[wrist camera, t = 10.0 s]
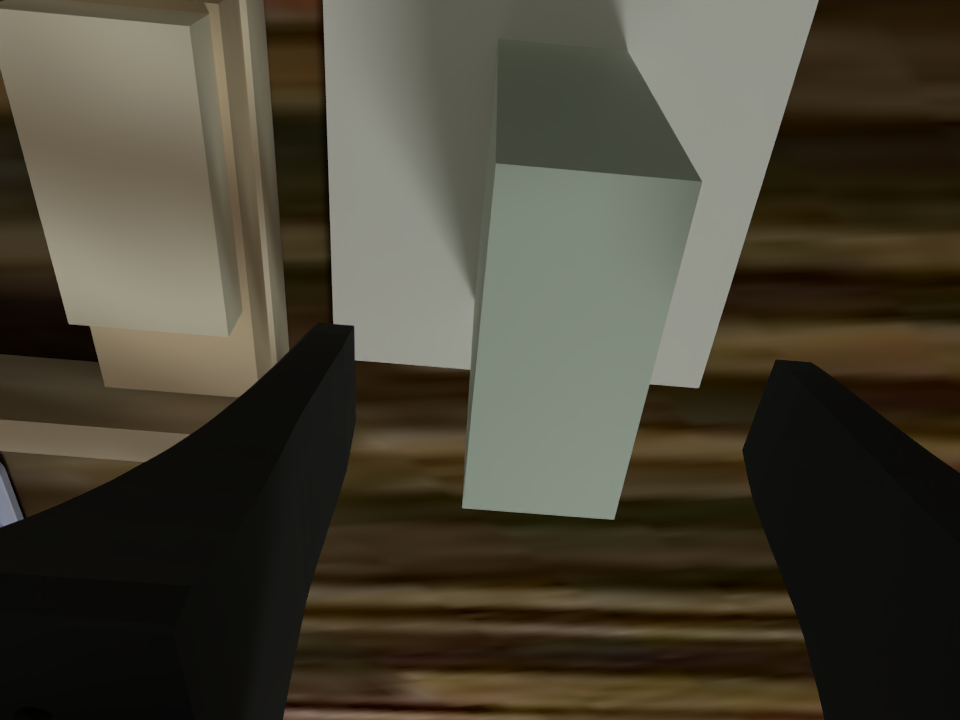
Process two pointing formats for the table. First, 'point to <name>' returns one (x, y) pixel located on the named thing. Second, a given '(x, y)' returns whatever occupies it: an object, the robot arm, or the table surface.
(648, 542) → the table surface
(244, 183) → the rack
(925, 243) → the table surface
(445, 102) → the grey pad
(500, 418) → the green panel
